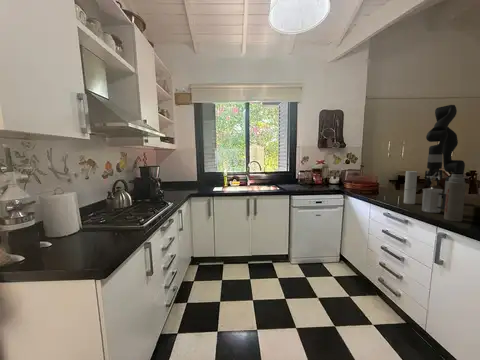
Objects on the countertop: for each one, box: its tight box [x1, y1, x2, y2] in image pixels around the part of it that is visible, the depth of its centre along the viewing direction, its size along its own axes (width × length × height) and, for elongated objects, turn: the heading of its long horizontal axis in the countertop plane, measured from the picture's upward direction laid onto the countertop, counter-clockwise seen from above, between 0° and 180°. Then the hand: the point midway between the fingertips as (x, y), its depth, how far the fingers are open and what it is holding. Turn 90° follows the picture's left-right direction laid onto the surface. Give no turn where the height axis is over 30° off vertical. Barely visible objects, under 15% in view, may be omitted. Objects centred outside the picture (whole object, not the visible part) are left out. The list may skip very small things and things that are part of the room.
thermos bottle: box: [443, 172, 467, 222], centre depth 133 cm, size 8×8×28 cm
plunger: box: [430, 180, 438, 190], centre depth 152 cm, size 5×5×18 cm
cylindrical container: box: [403, 170, 418, 205], centre depth 177 cm, size 7×7×25 cm
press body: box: [421, 187, 446, 214], centre depth 151 cm, size 9×12×15 cm
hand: (432, 185), depth 152 cm, fingers open, 8 cm apart
